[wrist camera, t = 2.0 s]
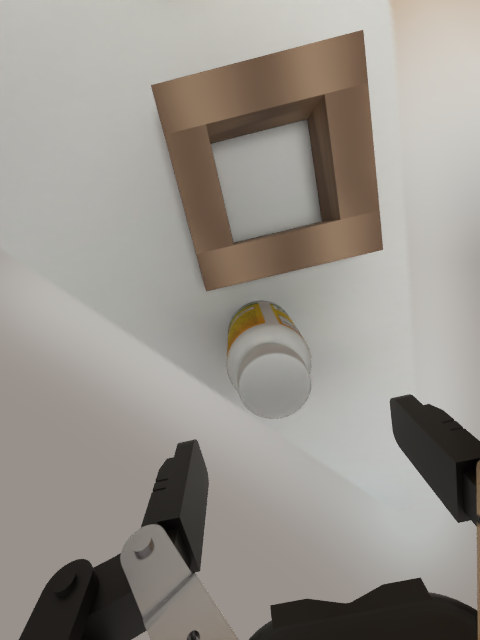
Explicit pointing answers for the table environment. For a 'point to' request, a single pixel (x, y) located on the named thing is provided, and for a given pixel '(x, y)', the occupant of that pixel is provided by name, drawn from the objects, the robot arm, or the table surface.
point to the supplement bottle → (268, 360)
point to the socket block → (264, 113)
